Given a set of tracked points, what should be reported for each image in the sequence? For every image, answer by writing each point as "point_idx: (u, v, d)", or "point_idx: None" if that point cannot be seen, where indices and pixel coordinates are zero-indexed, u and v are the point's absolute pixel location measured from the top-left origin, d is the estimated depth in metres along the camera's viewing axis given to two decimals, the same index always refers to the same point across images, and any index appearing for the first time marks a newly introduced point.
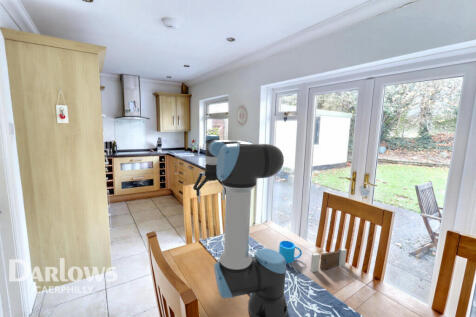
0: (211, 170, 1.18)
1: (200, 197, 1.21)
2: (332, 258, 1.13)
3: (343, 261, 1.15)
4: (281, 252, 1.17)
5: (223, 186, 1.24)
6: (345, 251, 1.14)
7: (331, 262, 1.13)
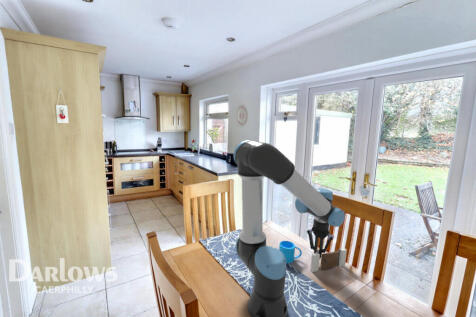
0: None
1: None
2: (332, 258, 1.12)
3: (343, 261, 1.15)
4: None
5: None
6: (345, 251, 1.14)
7: (331, 262, 1.13)
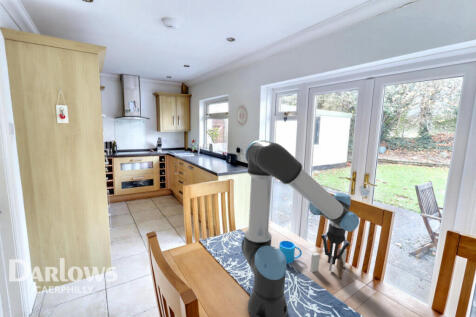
0: None
1: None
2: None
3: (343, 261, 1.15)
4: None
5: None
6: (345, 251, 1.14)
7: None
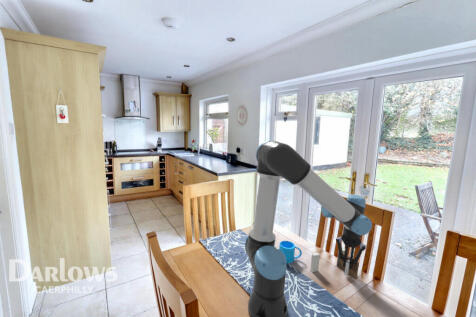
0: None
1: None
2: None
3: None
4: None
5: (346, 255, 1.07)
6: None
7: None
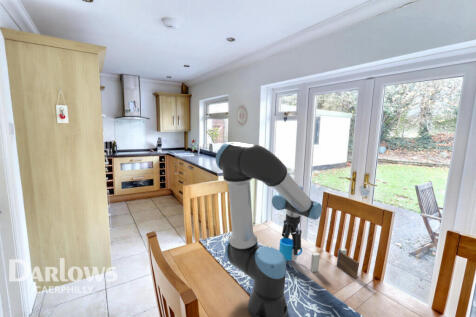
0: (285, 219, 1.17)
1: None
2: None
3: None
4: (281, 249, 1.16)
5: (293, 244, 1.14)
6: (345, 251, 1.14)
7: None
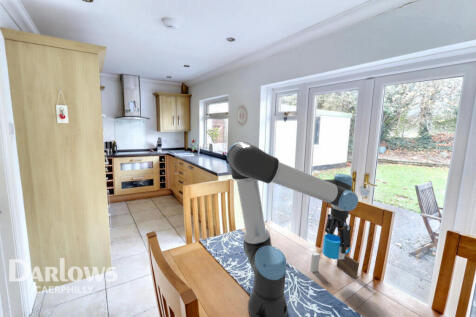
0: (331, 213, 1.03)
1: None
2: None
3: None
4: (326, 246, 1.03)
5: (340, 241, 1.00)
6: None
7: None
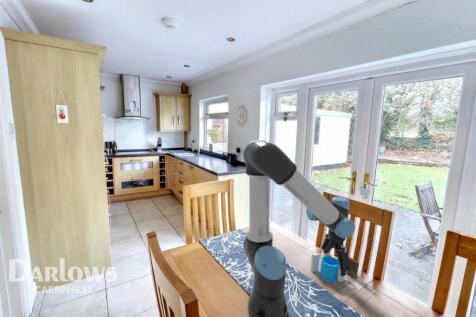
0: (328, 235, 1.05)
1: None
2: None
3: None
4: (324, 269, 1.05)
5: None
6: None
7: None
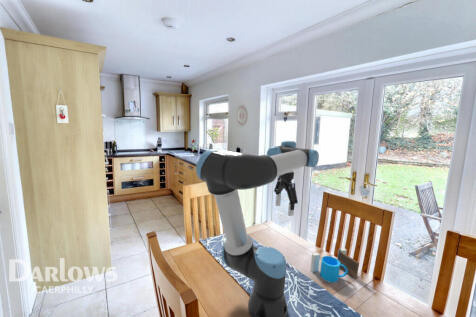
0: (279, 176, 1.15)
1: (276, 201, 1.23)
2: None
3: None
4: (324, 269, 1.05)
5: (289, 199, 1.10)
6: (345, 251, 1.14)
7: None
